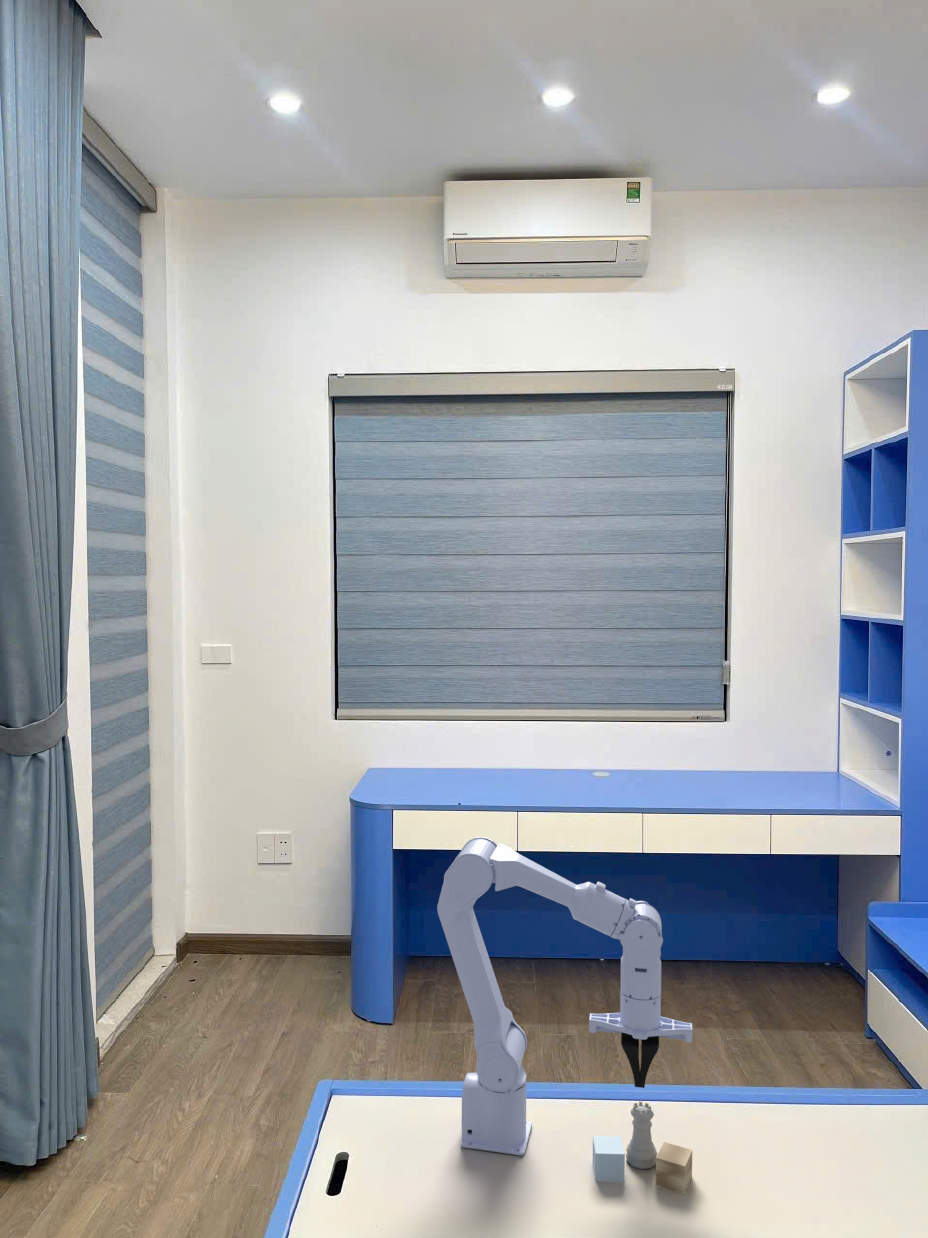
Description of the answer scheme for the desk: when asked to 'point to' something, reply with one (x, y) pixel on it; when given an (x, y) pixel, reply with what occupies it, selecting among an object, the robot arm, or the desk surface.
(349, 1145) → the desk surface
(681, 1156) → the beech block
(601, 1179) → the pale blue block
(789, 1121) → the desk surface
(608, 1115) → the desk surface
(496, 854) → the robot arm
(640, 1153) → the rook chess piece
